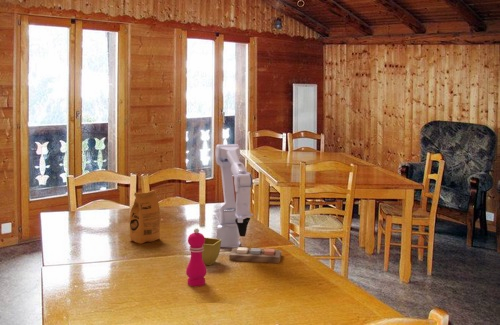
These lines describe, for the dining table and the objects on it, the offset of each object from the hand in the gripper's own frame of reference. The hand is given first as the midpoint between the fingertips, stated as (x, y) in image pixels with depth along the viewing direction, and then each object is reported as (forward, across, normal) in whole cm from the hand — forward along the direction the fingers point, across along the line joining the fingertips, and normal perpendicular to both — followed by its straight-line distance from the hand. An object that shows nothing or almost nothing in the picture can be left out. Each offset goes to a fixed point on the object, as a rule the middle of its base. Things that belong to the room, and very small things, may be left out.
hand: (242, 235), depth 244 cm
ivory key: (+8, 0, 0) cm, 8 cm away
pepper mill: (+9, -34, +11) cm, 37 cm away
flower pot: (+9, -10, +12) cm, 18 cm away
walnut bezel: (+9, 0, -6) cm, 10 cm away
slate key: (+8, 0, -5) cm, 10 cm away
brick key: (+8, 0, -11) cm, 14 cm away
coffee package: (+9, +18, +46) cm, 51 cm away
